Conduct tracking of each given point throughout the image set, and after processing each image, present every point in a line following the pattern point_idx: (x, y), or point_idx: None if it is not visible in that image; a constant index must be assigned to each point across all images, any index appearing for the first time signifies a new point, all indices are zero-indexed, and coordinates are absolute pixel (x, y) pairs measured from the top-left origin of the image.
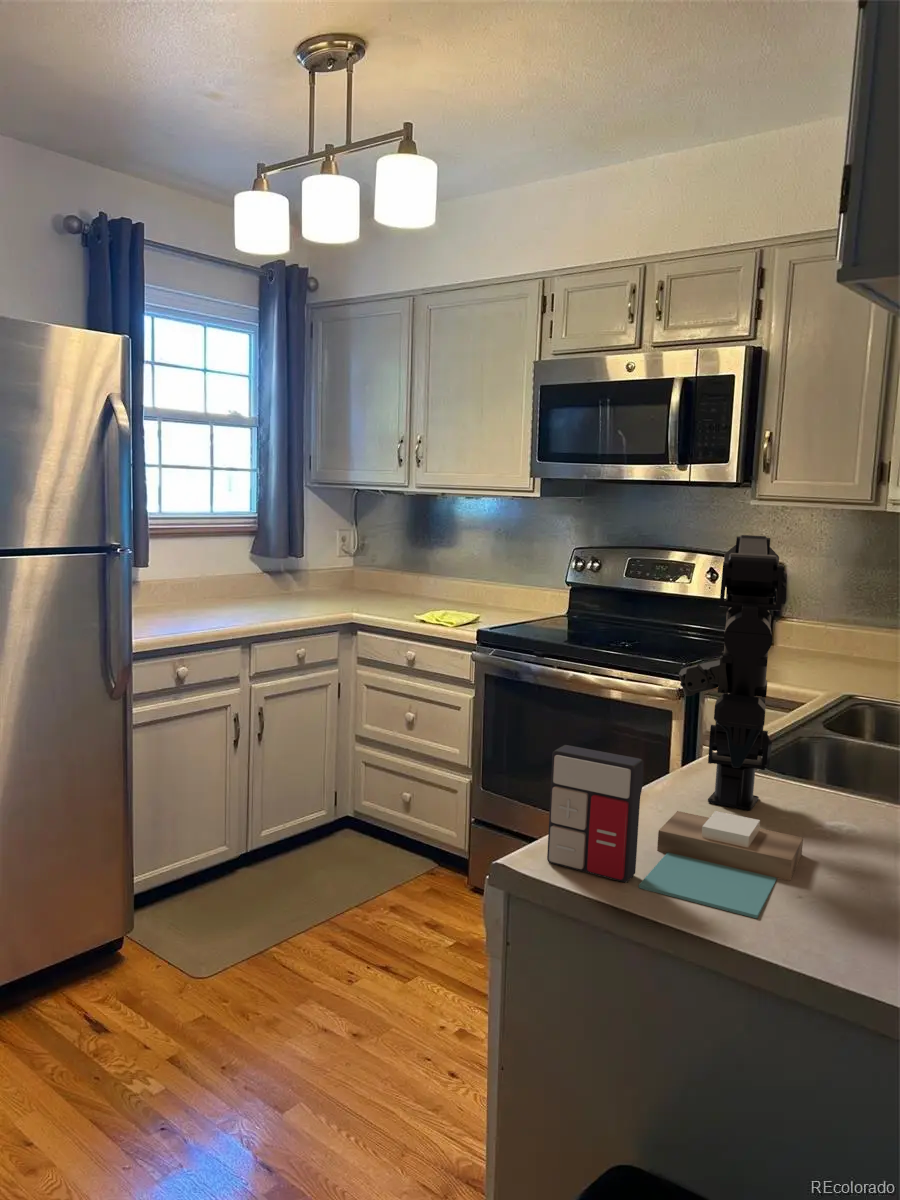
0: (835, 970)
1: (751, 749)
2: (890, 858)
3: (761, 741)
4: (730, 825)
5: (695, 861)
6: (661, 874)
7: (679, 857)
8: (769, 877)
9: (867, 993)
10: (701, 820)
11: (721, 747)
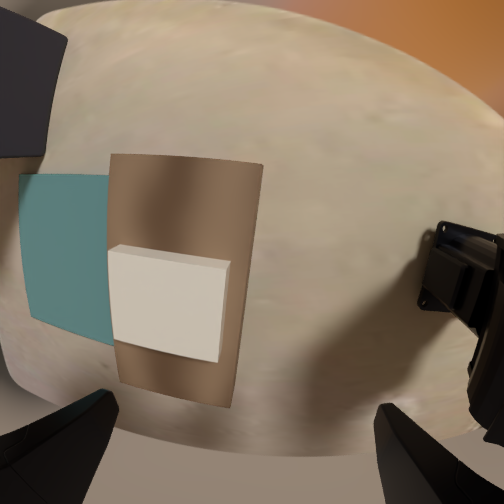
0: (15, 362)
1: (475, 386)
2: (296, 456)
3: (479, 423)
4: (146, 307)
5: None
6: (49, 191)
7: None
8: None
9: (10, 373)
10: (220, 231)
11: (500, 299)
